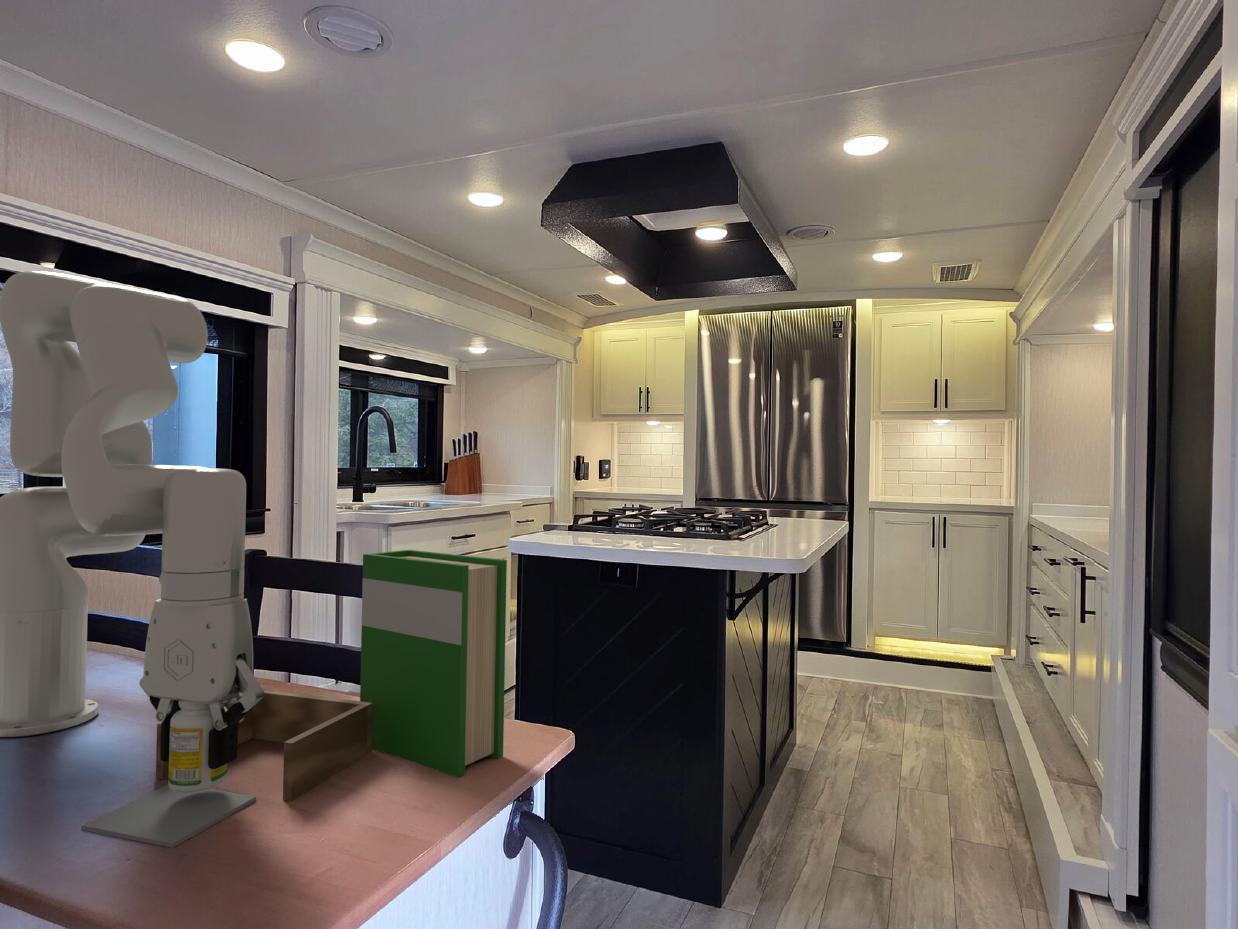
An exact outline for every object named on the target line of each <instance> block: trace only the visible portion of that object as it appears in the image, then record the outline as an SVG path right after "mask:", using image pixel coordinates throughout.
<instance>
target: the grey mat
mask: <svg viewBox="0 0 1238 929" xmlns="http://www.w3.org/2000/svg"><path fill="white" fill-rule="evenodd" d="M255 801H256V802H257V796H255V795H249V794H243V793H237V792H231V791H227V790H225V791H224V790H220V789H213V788H209V789H206V790H203V791H198V792H189V793H181V792H175V791H173V790H172V789H170V787H169V785H168V784H166V785H165V786H162V787H160V788H158V789H156V790H153V791H152V792H149V793H147V794H145V795H143V796H141V797H139V798H137V799H134V800H132V801H130V802H128V803H126V804H124V805H122V806H120V807H118V808H115V809H113V810H110V811H109V812H107V813H105V814H103V815H101V816H98V817H96V818H94V819H92V820H90V821H87V822H86V823H83V824H81V828H80V829H81V830H82V831H86V832H87V831H88V832H90V833H91V832H92V833H95V834H96V833H97V834H101V835H106V836H112V837H116V838H117V837H118V838H120V839H121V838H122V839H127V840H131V841H137V842H140V843H141V842H142V843H147V844H151V845H157V846H161V845H162V847H166V848H171V849H172V848H175V847H176V846H178V845H181V844H182V843H183V842H185V841H187V840H189V839H190V838H192V836H193V837H195V836H196V835H198V834H199V833H202V832H203V831H205V830H206V828H207V829H208V828H210V827H212V826H214V825H215V824H217V823H219V822H221V821H222V820H224V819H226V818H228V817H230V816H231V815H233V814H235V813H236V812H238V811H240V810H242V809H244V808H245V807H247V806H249V805H250V804H252V803H254V802H255ZM211 825H212V826H211ZM188 838H189V839H188Z"/></svg>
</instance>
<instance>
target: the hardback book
mask: <svg viewBox="0 0 1238 929" xmlns="http://www.w3.org/2000/svg"><path fill="white" fill-rule="evenodd" d="M507 564H508V561H507V559H501V558H500V559H499V558H492V557H490V558H489V557H481V556H472V555H471V556H470V555H462V554H453V553H444V552H437V551H436V552H434V551H424V550H415V549H402V550H392V551H383V552H374V553H364V554H362V586H361V587H362V590H361V591H362V593H361V594H362V595H361V631H360V632H361V638H360V639H361V640H360V644H361V645H360V678H359V679H360V680H359V682H360V685H359V686H360V687H359V688H360V689H359V701H362V702H370V703H373V720H372V750H373V749H374V750H376V751H380V752H383V753H386V754H387V755H391V756H394V757H397V758H399V759H403V760H406V761H408V762H412V763H415V764H417V765H420V766H423V767H426V768H429V769H431V770H434V771H437V770H438V771H437V772H440V773H444V774H446V775H450V776H451V777H455V778H461V777H464V776H465V773H466V772H465V768H466V766H468V765H470V764H473V763H475V762H476V761H479V760H481V759H483V758H486V757H489V756H491V757H490V758H492V757H494V758H493V759H495V758H496V760H499V758H500V759H501V757H502V756H503V757H504V731H505V729H504V727H505V726H504V725H505V724H504V722H505V721H504V720H505V675H506V674H505V673H506V668H505V667H506V624H507V622H506V621H507V619H506V617H507V615H506V614H507V570H508V566H507ZM503 757H502V758H503Z"/></svg>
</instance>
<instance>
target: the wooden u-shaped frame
mask: <svg viewBox="0 0 1238 929" xmlns="http://www.w3.org/2000/svg"><path fill="white" fill-rule="evenodd" d="M263 691H264V694H265V695H264V697H263V698H262V699H261V700H260V701H259V702H258V703H257V704H256V705H254V706H253V707H252V709H251V710H250V711H249V712H248V713H247V714H246V715H245V716H244V720H243V721H241V722H239V723H238V746H239V745H241V744H243V743H245V742H248V741H250V740H253V739H255V740H261V739H262V740H261V741H270V742H275V743H283V774H282V775H283V778H282V780H283V781H282V800H283V801H289V802H291V801H293V800H295V799H296V798H298V797H299V796H302V795H303V794H305V793H306V792H309V791H310V790H312V789H314V787H316V786H318V785H320V784H321V783H323V782H324V781H326V780H328V779H329V778H331V777H332V776H334V775H336V774H338V773H339V772H341V771H343V770H344V769H346V768H348V767H349V766H351V765H352V764H354V763H356V762H357V761H359V760H360V759H362V758H364V757H366V756H367V755H369V754H371V753H373V748H372V720H373V703H370V702H362V701H360V700H353V699H352V700H351V699H343V698H337V697H336V698H335V697H326V696H321V695H320V696H319V695H309V694H302V693H294V692H285V691H277V690H267V689H263ZM239 695H240V698H241V697H242V692H241V693H239ZM223 705H224V707H226V708H227V710H228V709H229V707H228V702H227V701H225V702H223ZM161 723H162V722H159V723H157V724H156V748H155V749H156V753H155V755H156V756H155V779H158V778H159V780H164V778H165V779H167V778H168V774H169V761H161V760H160V743H161ZM166 777H167V778H166Z"/></svg>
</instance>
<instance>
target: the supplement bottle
mask: <svg viewBox="0 0 1238 929" xmlns="http://www.w3.org/2000/svg"><path fill="white" fill-rule="evenodd" d="M178 704H179V707H180V708H181V710H179V711H178V712H176V713H175V714H174V715H173V717H172V718H171V721H170V744H169V774H168V777H167V778H168V780H167V783H168V784H167V785H169V787H170V789H172V790H173V791H175V792H181V793H189V792H198V791H203V790H206V789H213V788H214V787H216V786H218V785H220V784H221V783H223V782H224V781H225V780H226V778H227V777H228V768H229V767H228V766H229V765H228V763H227V764H225V765H223V766H221V767H219V768H217V769H210V768H209V767H208V749H209V732H210V730H211V729H214V728H215V726H214V722H213V718H212V714H211V709H210V705H209V704H203V703H194V702H186V701H179V703H178ZM224 709H225V712H226V711H227V708H226V707H224Z"/></svg>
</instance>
